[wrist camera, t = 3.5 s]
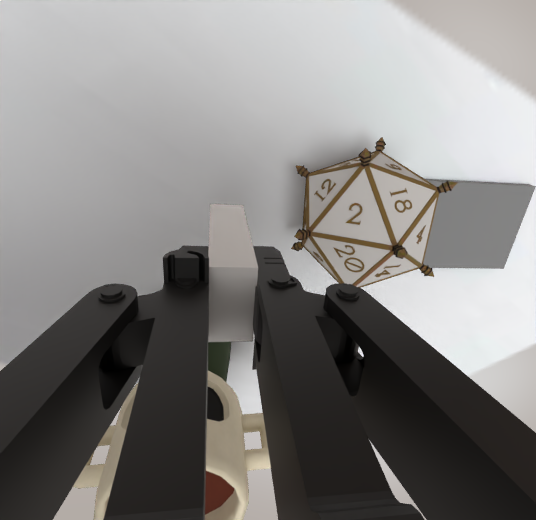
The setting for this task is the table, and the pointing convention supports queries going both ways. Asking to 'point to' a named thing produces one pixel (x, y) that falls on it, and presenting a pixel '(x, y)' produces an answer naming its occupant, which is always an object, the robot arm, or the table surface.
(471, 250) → the grey rubber mat
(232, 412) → the character mug
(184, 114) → the table surface
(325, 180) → the game die
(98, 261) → the table surface
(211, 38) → the table surface
